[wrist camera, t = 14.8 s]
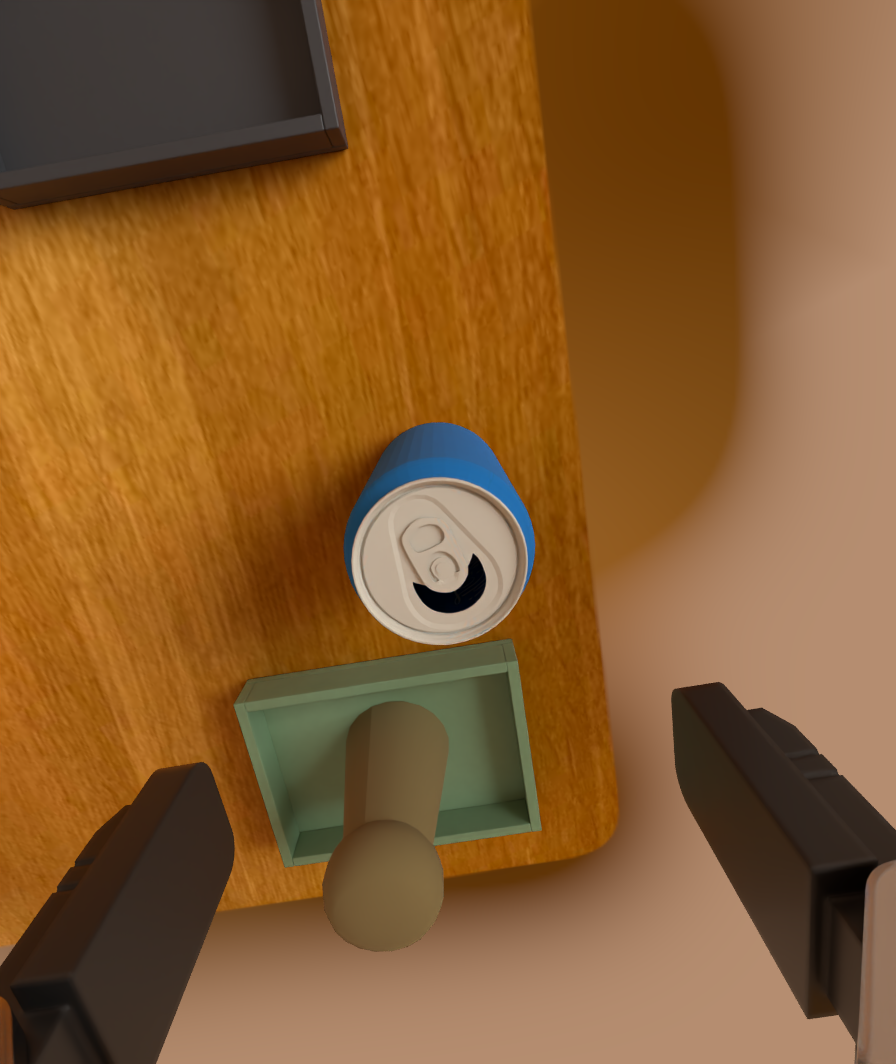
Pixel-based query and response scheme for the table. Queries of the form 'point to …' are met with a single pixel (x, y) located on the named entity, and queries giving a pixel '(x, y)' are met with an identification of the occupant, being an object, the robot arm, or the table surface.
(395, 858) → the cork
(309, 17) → the charcoal tray
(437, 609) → the beverage can
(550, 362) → the table surface
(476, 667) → the green tray
